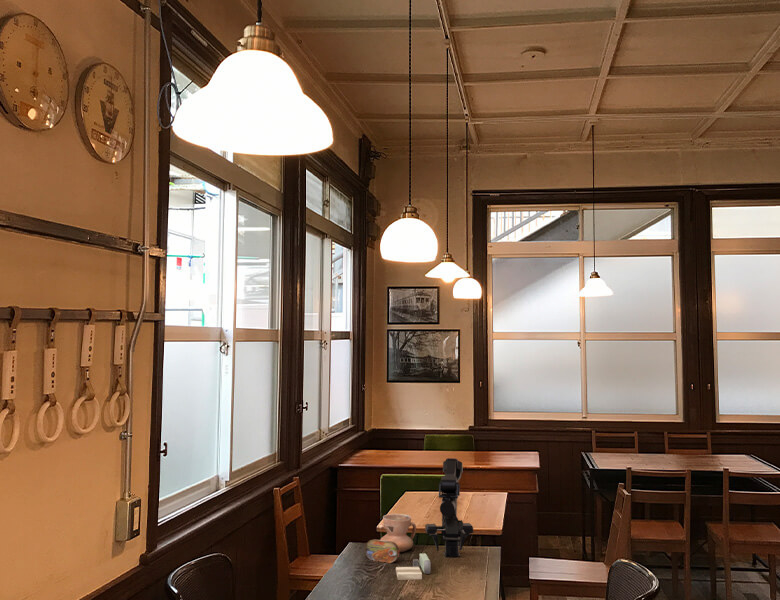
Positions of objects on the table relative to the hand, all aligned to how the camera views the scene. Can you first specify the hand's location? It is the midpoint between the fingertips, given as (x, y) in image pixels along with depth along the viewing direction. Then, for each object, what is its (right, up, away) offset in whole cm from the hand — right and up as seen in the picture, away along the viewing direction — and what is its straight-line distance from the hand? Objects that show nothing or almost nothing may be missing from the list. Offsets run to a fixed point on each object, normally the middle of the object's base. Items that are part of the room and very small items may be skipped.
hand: (449, 550), depth 280 cm
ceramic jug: (-20, -9, +24) cm, 32 cm away
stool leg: (-10, -6, -4) cm, 12 cm away
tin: (-27, -7, +7) cm, 29 cm away
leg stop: (-13, -6, -2) cm, 15 cm away
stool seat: (-16, -6, -12) cm, 21 cm away
